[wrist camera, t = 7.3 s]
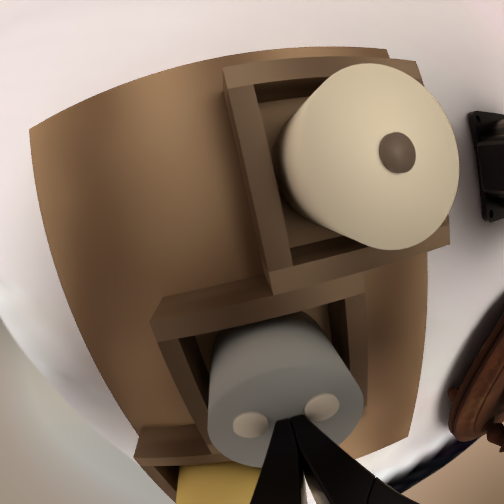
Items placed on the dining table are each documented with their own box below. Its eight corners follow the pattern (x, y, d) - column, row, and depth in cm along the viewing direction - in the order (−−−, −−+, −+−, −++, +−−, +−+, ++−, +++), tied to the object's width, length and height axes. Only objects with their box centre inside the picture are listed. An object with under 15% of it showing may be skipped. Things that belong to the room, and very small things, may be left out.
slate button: (319, 291, 11) (366, 347, 7) (330, 383, 12) (363, 448, 8) (196, 320, 10) (182, 391, 6) (228, 408, 12) (231, 480, 8)
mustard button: (255, 433, 12) (265, 499, 8) (271, 475, 13) (281, 528, 9) (167, 444, 12) (157, 505, 8) (197, 484, 13) (195, 536, 9)
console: (374, 58, 10) (411, 30, 7) (400, 426, 15) (421, 456, 12) (43, 132, 10) (-2, 122, 6) (184, 479, 15) (182, 515, 12)
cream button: (375, 99, 9) (440, 68, 5) (398, 214, 10) (470, 230, 6) (259, 110, 9) (281, 62, 5) (288, 240, 10) (327, 273, 6)
